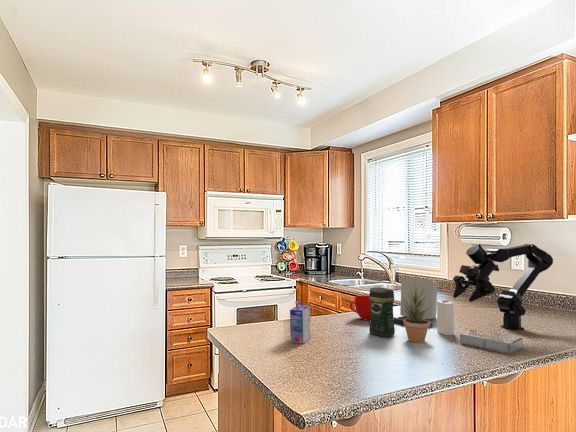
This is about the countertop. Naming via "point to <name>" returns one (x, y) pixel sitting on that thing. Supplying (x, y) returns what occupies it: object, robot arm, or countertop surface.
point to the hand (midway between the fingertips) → (461, 299)
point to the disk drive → (400, 319)
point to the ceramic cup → (362, 307)
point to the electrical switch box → (429, 299)
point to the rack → (490, 342)
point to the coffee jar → (381, 312)
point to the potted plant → (416, 316)
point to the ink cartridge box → (300, 323)
